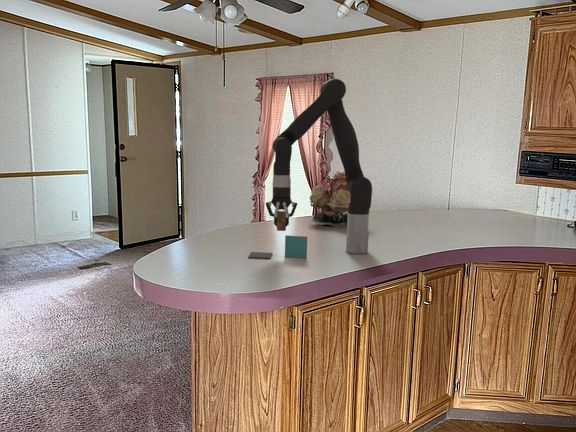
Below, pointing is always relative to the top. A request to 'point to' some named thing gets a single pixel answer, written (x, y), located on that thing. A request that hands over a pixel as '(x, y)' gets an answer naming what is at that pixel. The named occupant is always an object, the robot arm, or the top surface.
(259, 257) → the mat
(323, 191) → the rose bouquet
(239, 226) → the top surface
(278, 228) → the block
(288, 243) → the tile
